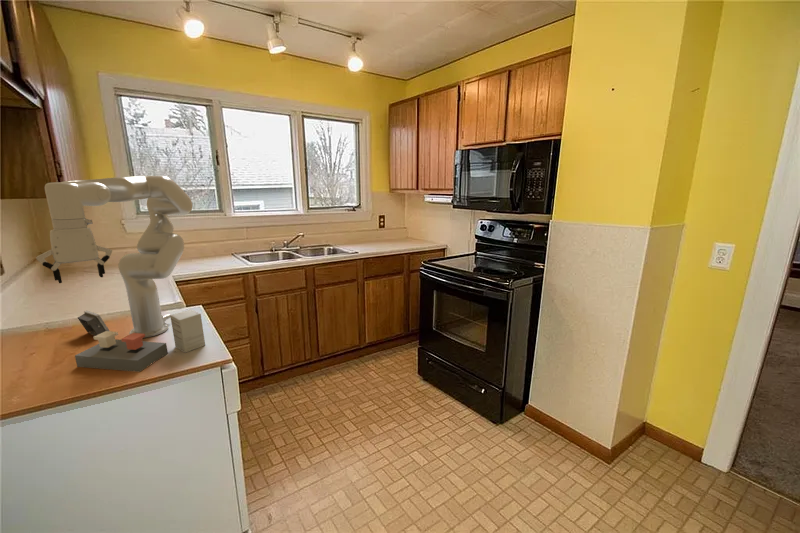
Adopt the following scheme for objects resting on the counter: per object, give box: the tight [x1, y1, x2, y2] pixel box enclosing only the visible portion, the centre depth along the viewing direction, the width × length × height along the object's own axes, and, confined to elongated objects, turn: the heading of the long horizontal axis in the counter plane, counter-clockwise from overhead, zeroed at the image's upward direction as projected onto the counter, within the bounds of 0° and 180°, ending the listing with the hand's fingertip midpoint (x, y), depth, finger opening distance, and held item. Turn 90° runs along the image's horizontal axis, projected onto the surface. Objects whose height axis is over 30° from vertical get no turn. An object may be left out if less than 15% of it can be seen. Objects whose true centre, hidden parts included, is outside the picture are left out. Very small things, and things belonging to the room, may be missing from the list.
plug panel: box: [74, 338, 169, 373], centre depth 118 cm, size 12×22×4 cm, turn 84°
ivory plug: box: [93, 330, 119, 348], centre depth 117 cm, size 4×4×4 cm
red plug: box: [120, 333, 145, 350], centre depth 116 cm, size 4×4×4 cm
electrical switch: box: [77, 310, 110, 336], centre depth 135 cm, size 9×5×9 cm, turn 65°
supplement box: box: [170, 308, 206, 353], centre depth 126 cm, size 7×7×13 cm
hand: (81, 279), depth 110 cm, fingers open, 9 cm apart
